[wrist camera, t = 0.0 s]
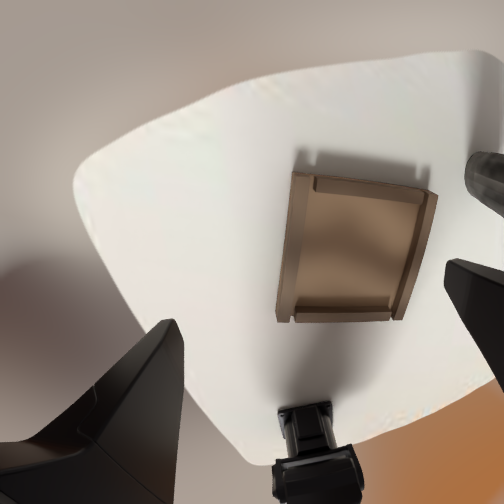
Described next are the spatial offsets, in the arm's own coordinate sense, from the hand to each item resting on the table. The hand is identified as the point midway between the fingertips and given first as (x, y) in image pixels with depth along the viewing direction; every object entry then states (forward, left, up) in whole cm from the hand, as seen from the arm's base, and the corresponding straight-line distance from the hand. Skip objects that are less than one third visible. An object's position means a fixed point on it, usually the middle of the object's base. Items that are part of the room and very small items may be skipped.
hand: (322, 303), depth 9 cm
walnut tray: (-6, -6, -15) cm, 17 cm away
